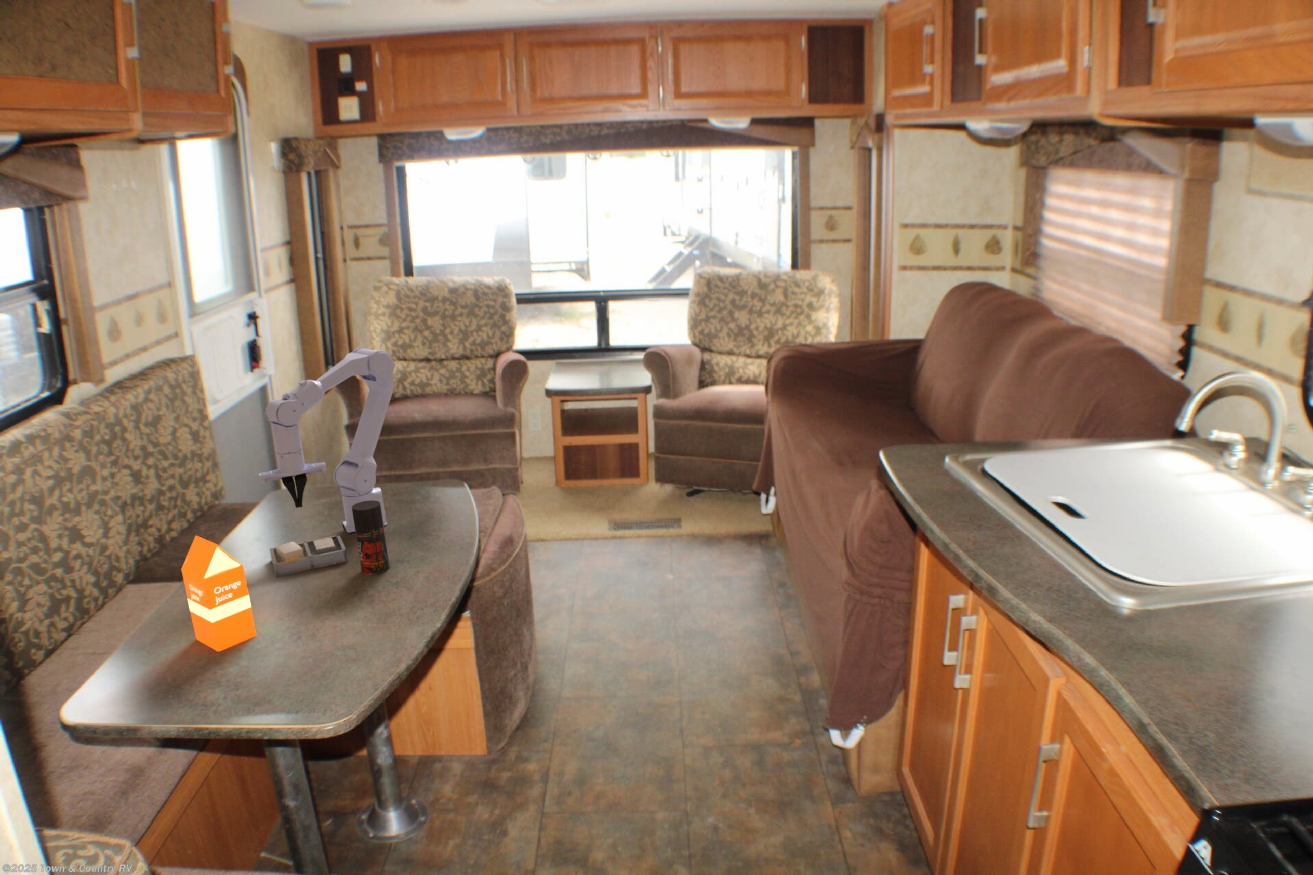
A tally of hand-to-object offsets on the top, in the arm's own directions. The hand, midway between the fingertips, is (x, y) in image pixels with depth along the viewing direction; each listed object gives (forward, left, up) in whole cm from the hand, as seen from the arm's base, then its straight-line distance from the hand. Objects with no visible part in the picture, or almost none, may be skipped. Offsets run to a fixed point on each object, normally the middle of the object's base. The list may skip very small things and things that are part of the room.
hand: (298, 506), depth 221 cm
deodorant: (-12, +24, -10) cm, 29 cm away
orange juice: (+19, +41, -10) cm, 46 cm away
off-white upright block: (+4, +10, -9) cm, 14 cm away
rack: (0, +10, -10) cm, 14 cm away
